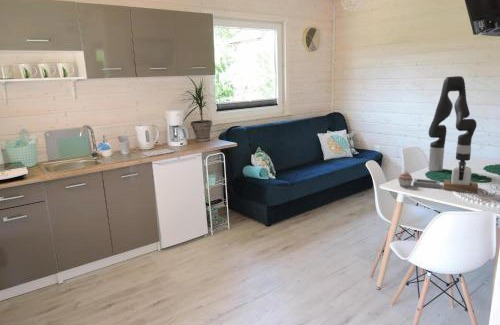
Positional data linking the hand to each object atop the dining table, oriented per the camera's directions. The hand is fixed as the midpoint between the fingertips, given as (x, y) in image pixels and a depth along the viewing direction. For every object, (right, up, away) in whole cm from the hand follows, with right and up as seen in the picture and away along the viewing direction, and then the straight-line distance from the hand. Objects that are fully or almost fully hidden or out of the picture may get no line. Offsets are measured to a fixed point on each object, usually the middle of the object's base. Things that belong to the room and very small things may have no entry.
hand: (460, 178), depth 221 cm
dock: (0, -6, +1) cm, 6 cm away
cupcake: (-29, -5, +12) cm, 32 cm away
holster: (-16, -5, +11) cm, 20 cm away
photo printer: (0, -5, +1) cm, 5 cm away
